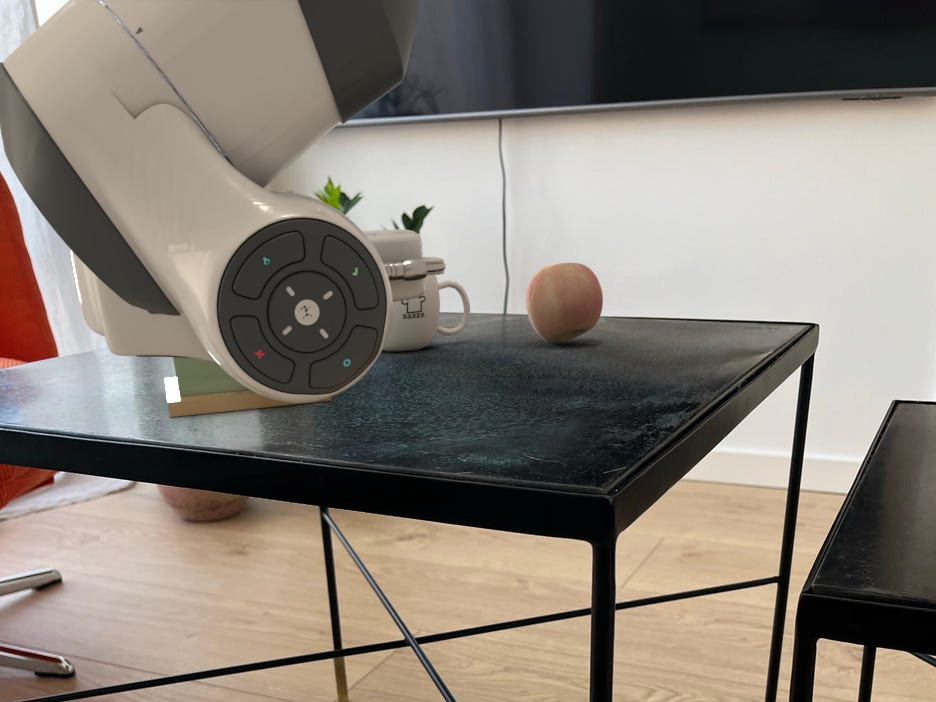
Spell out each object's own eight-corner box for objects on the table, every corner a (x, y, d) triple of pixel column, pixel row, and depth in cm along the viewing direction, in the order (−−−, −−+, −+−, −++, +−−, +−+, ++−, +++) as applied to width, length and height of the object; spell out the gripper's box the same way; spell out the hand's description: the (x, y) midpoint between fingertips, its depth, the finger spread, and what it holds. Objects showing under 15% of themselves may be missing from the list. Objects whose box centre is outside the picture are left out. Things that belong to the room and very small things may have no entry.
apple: (611, 338, 108) (612, 258, 105) (587, 350, 102) (587, 265, 98) (542, 337, 111) (540, 259, 108) (514, 348, 105) (512, 266, 101)
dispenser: (333, 403, 83) (311, 189, 76) (170, 420, 80) (131, 198, 73) (311, 377, 94) (289, 190, 88) (167, 391, 91) (133, 198, 85)
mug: (373, 357, 104) (366, 275, 100) (355, 346, 111) (348, 270, 108) (484, 346, 107) (480, 267, 104) (459, 336, 114) (455, 262, 111)
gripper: (450, 206, 55) (396, 203, 67) (53, 229, 50) (72, 222, 62) (457, 326, 58) (403, 303, 70) (80, 359, 53) (92, 328, 65)
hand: (244, 265), depth 66 cm, fingers closed
